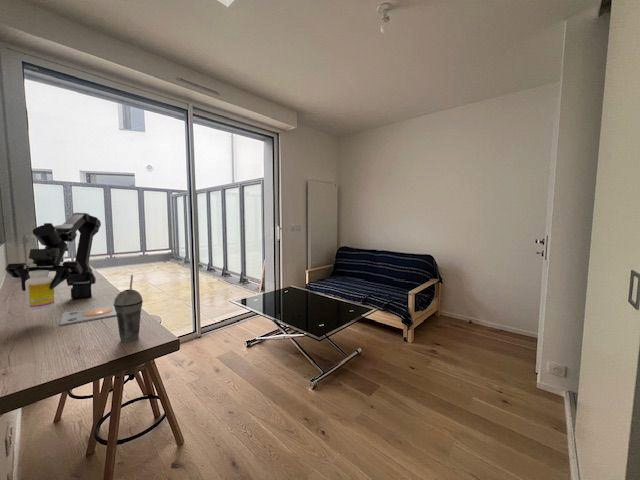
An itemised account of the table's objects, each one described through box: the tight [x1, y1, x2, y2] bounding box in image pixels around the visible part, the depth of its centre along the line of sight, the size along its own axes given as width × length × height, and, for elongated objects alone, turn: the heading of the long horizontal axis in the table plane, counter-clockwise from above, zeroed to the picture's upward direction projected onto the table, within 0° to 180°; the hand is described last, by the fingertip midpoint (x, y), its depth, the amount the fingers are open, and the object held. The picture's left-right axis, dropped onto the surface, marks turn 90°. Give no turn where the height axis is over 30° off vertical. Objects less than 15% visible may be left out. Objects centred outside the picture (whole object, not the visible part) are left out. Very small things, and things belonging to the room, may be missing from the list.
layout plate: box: [59, 304, 117, 327], centre depth 98 cm, size 16×14×1 cm
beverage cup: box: [113, 274, 144, 343], centre depth 78 cm, size 7×7×20 cm
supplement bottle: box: [25, 270, 55, 311], centre depth 89 cm, size 7×7×13 cm
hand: (37, 289), depth 88 cm, fingers closed on supplement bottle, 7 cm apart
